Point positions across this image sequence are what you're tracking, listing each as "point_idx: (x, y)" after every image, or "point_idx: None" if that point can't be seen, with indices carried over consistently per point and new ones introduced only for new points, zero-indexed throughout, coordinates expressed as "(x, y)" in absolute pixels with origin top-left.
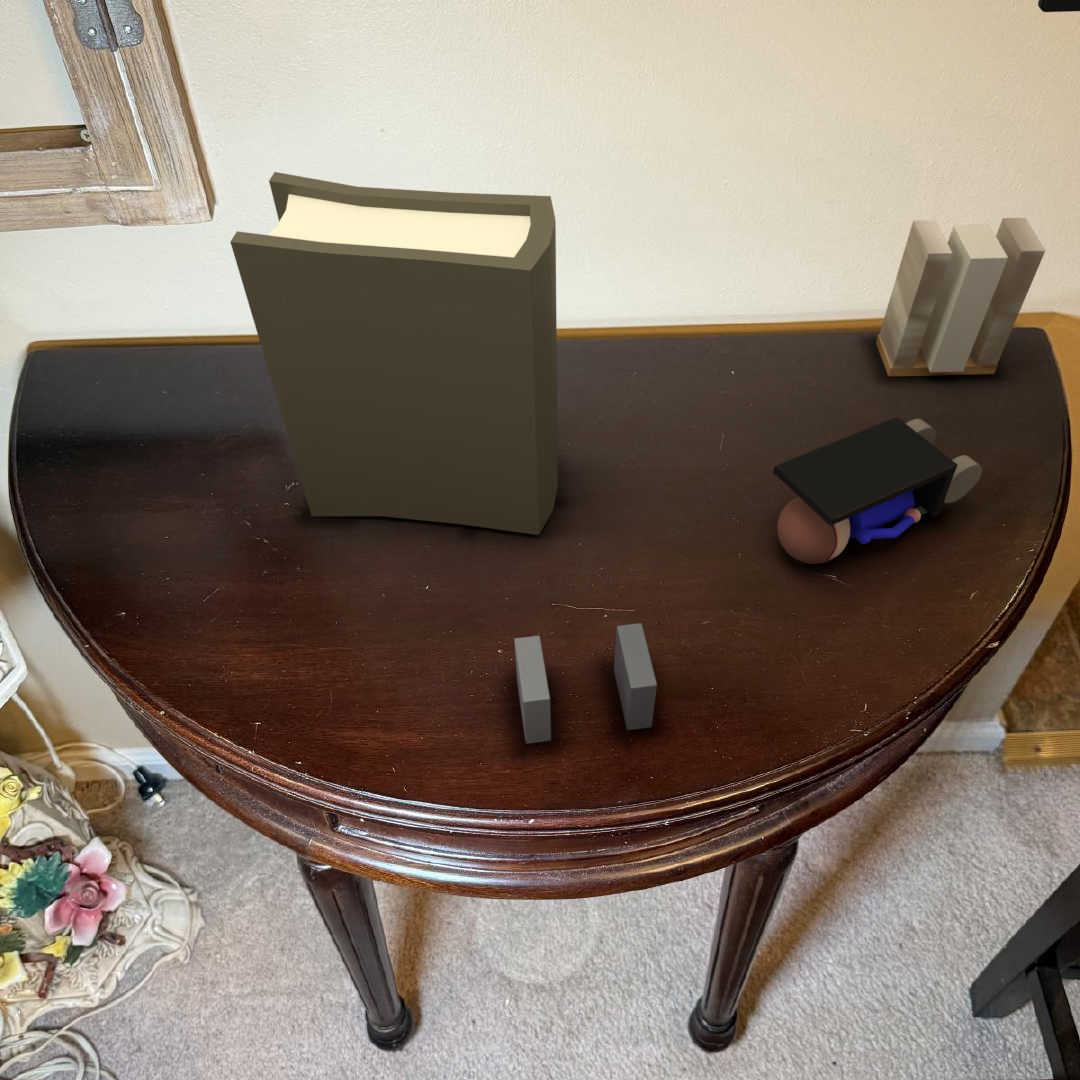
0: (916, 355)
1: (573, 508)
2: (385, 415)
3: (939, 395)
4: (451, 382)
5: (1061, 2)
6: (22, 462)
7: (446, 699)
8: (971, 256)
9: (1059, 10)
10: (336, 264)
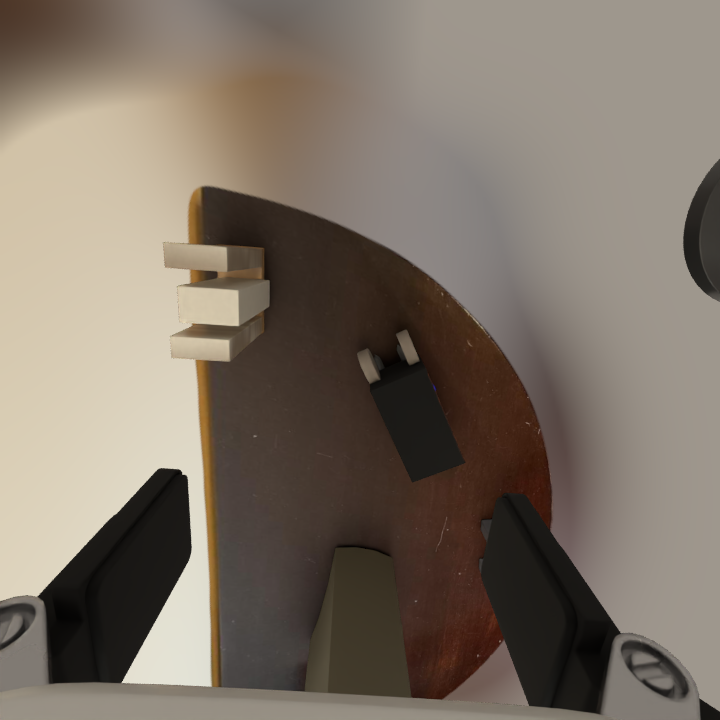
0: (259, 319)
1: (371, 537)
2: None
3: (287, 300)
4: None
5: (183, 541)
6: None
7: (481, 593)
8: (236, 325)
9: (190, 530)
10: None
